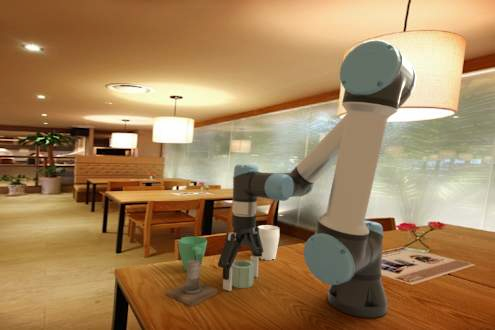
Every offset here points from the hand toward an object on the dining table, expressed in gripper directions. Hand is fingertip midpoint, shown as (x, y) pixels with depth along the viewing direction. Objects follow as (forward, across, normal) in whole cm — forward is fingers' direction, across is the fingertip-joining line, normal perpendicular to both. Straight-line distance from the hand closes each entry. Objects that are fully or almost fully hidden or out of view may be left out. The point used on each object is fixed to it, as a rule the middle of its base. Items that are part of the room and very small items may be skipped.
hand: (241, 282), depth 91 cm
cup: (0, -26, -7) cm, 27 cm away
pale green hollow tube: (0, 0, 0) cm, 0 cm away
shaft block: (0, +15, -6) cm, 16 cm away
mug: (0, +3, -18) cm, 18 cm away
